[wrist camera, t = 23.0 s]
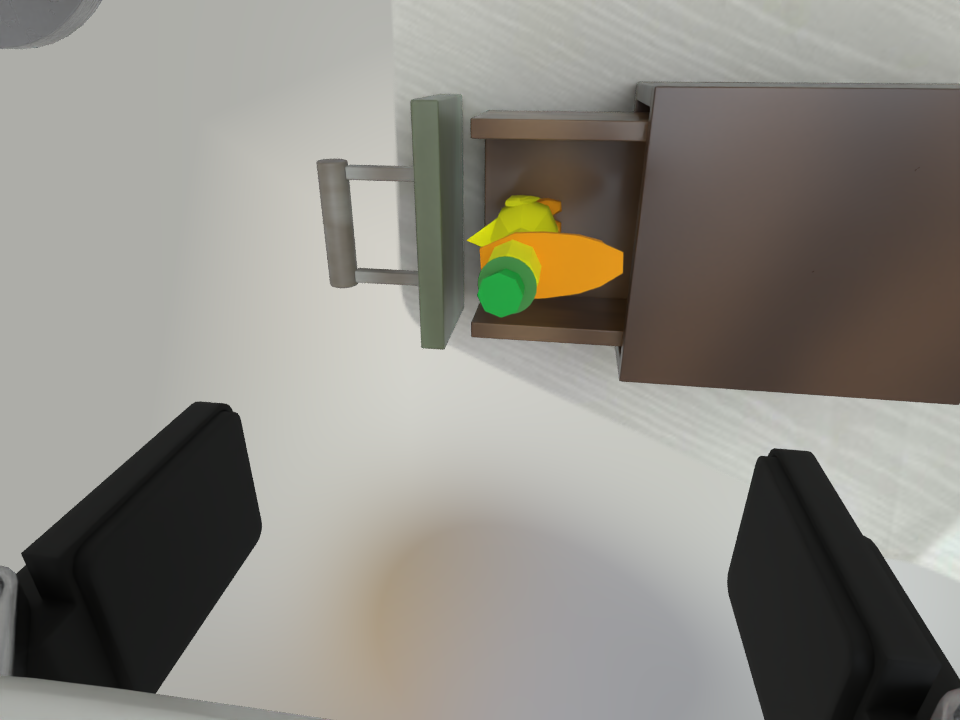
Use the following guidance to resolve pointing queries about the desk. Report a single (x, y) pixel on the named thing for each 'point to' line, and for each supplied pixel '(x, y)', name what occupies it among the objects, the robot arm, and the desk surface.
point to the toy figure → (537, 257)
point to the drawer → (508, 171)
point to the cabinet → (798, 240)
